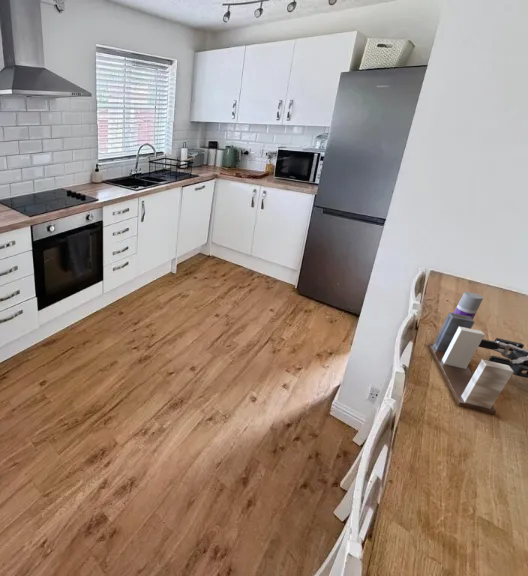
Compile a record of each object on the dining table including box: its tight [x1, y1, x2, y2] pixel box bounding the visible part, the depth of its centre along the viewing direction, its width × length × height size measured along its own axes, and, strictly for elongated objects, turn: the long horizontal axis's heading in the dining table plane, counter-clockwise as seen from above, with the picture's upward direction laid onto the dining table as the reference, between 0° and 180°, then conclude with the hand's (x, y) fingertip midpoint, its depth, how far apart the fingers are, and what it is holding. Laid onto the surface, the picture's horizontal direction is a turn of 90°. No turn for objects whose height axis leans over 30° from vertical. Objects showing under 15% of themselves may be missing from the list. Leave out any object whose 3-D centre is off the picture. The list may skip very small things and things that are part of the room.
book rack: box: [427, 312, 514, 416], centre depth 95 cm, size 7×27×12 cm, turn 158°
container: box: [453, 291, 484, 320], centre depth 111 cm, size 5×5×15 cm
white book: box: [442, 326, 486, 369], centre depth 98 cm, size 5×2×11 cm, turn 68°
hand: (483, 350), depth 96 cm, fingers open, 8 cm apart
